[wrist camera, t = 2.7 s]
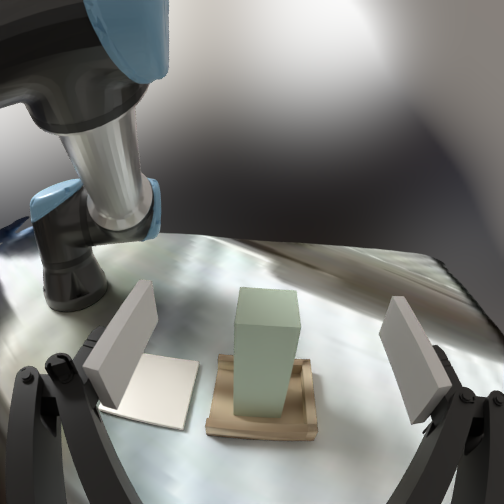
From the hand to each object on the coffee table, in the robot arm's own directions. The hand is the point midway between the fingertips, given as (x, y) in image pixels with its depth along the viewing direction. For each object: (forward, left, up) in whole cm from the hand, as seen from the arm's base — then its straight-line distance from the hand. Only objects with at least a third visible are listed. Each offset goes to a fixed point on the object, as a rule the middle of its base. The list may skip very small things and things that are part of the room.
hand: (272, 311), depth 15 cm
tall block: (-11, 0, -24) cm, 26 cm away
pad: (-11, -15, -24) cm, 30 cm away
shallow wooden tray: (-11, 0, -24) cm, 27 cm away
